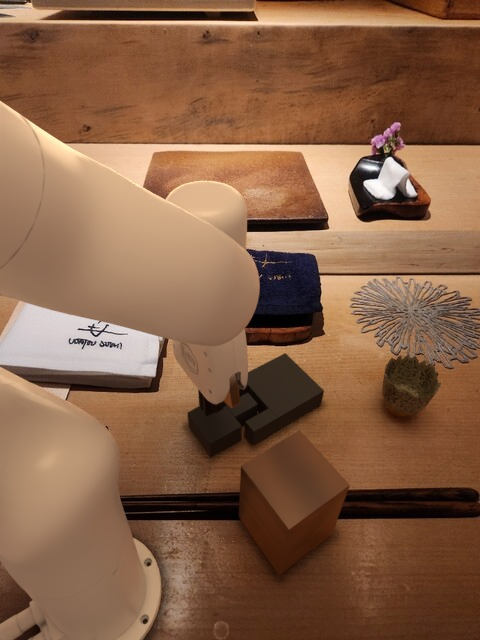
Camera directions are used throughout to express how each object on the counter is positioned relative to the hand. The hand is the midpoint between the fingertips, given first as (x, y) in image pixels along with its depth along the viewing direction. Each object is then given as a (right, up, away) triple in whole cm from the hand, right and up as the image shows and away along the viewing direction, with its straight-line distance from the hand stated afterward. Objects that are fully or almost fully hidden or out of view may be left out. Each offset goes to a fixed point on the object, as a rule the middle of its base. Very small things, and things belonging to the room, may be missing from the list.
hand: (213, 407), depth 60 cm
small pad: (+2, -4, +5) cm, 7 cm away
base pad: (+8, -1, +9) cm, 12 cm away
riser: (+9, -13, -5) cm, 17 cm away
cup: (+27, -2, +8) cm, 29 cm away
